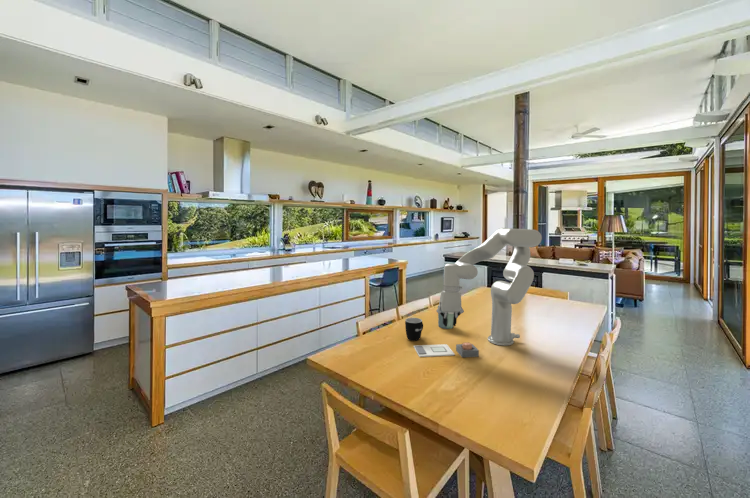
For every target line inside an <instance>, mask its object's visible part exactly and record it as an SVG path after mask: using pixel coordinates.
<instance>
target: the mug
mask: <svg viewBox="0 0 750 498" xmlns="http://www.w3.org/2000/svg"><path fill="white" fill-rule="evenodd" d="M404 321H405V322H404V323H405V324H404V325H405V328H404V329H405V333H406V334H405V335H406V339H407V340H408V341H411V342H412V341H413V342H417V341H419V340H420V339H421V336H422V332H423V329H424V323H423V320H422V319H421V318H419V317H407V318H406V319H405V320H404Z"/></svg>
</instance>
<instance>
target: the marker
mask: <svg viewBox="0 0 750 498" xmlns="http://www.w3.org/2000/svg"><path fill="white" fill-rule="evenodd" d="M446 318H447V328H451V329H453V328H454V326H453V324H454V312H447V316H446ZM452 327H453V328H452Z"/></svg>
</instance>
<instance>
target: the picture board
mask: <svg viewBox="0 0 750 498" xmlns="http://www.w3.org/2000/svg"><path fill="white" fill-rule="evenodd" d="M413 348H414V350H415V352H416V354H417V356H418V357H419V358H422V357H423V358H424V357H425V358H426V357H446V356H447V357H449V356H450V357H451V356H455V355H456V354H455V352H454V351H453V350H452V349H451V348H450V346H449V345H448V344H446V343H445V344H444V343H443V344H441V343H440V344H422V345H421V344H420V345H413Z"/></svg>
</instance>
